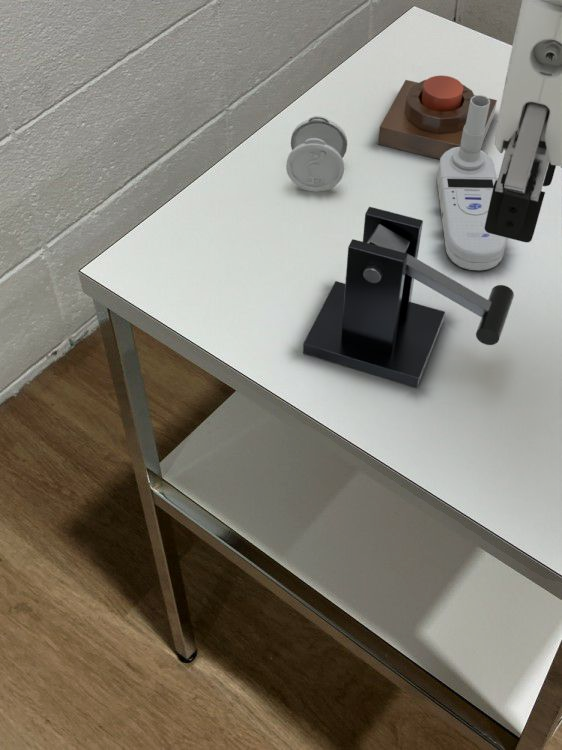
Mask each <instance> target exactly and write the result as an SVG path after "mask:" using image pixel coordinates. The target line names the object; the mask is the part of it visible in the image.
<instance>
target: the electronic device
mask: <svg viewBox="0 0 562 750" xmlns="http://www.w3.org/2000/svg"><path fill="white" fill-rule="evenodd" d="M475 95H476V96H473V97H472V98H471V100H470V105H469V110H468V115H467V120H466V125H465V126H464V128H463V133H462V138H461V145H460V147H455V148H452V149H450V150H448V151H446V152H445V153H444V154H443V155H442V157H441V158H440V159H439V164H438V168H437V169H438V170H437V175H436V181H437V189H438V190H437V191H438V198H439V207H440V213H441V222H442V230H443V235H444V247H445V251H446V254H447V256H448V258H449V259H450V260H451V262H452V263H454V264H455V265H457V266H458V267H460V268H462V269H466V270H469V271H485V270H490V269H492V268H495V267H496V266H498V264H500V262H501V261H502V260H503V257H504V254H505V251H506V246H507V243H508V238H506V237H502V236H498V235H494V234H491V233H488V232H486V231H485V223H486V218H487V214H488V209H489V205H490V200H491V196H492V191H493V187H494V183H495V181H496V180H497V181H498V178H497V173H496V168H495V164H494V161H493V159H492V157H491V156H490V155H489V154H488V153H487V152H485V151H483V150H482V147H483V143H484V141H483V139H484V140H485V138H484V134H485V124H486V119H487V115H488V110H489V105H490V100H489V97H487V96H485V95H482V94H475Z"/></svg>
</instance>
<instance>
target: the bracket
mask: <svg viewBox="0 0 562 750" xmlns="http://www.w3.org/2000/svg"><path fill="white" fill-rule="evenodd" d="M379 224H381V225H382V226H384V227H386V228H387V229H389V230H391V231H393V232H394V233H396V234H398V235H400V236H401V237H403V238H405V239H407V240H408V241H410V243H409V246H408V248H407V250H406V253H407V254H406V253H403V252H399V251H395V250H392V249H388V248H384V247H380V246H377V245H373V244H369V243H367V241H368V240H369V238H370V237H371V235H372V234H373V232H374V231H375V229H376V228H377V226H378V225H379ZM423 224H424V219H423V220H422V219H419V218H416V217H412V216H408V215H404V214H399V213H397V212H396V213H395V212H391V211H389V210H384V209H381V208H377V207H372V206H368V208H367V210H366V212H365V213H364V224H363V234H362V240H357V239H353V238H352V239H351V241H350V243H349V244H348V246H347V257H346V269H345V271H346V272H345V282H341V281H338V280H334V283H333V285H332V286H331V289H330V291H329V293H328V295H327V296H326V299H325V300H324V302H323V305H322V306H321V309H319V310H320V311H319V312H318V314H317V316H316V317H315V320H314V322H313V324H312V326H311V328H310V330H309V331H308V334H307V335H306V337H305V339H304V342H303V343H302V344H303V345H302V353H303V354H304V355H308V356H310V357H315V358H318V359H321V360H325V361H328V362H331V363H335V364H337V365H341V366H344V367H348V368H350V369H353V370H357V371H361V372H363V373H367V374H370V375H374V376H377V377H381V378H384V379H387V380H390V381H394V382H397V383H400V384H404V385H407V386H411V387H414V388H418V386H419V384H420V381H421V379H422V376H423V373H424V371H425V368H426V366H427V363H428V361H429V359H430V356H431V354H432V351H433V348H434V346H435V344H436V341H437V338H438V336H439V333H440V331H441V328H442V327H443V323H444V320H445V314H446V311H445V310H441V309H438V308H433V307H430V306H426V305H422V304H419V303H415V302H413V301H412V297H413V289H414V283H415V279H414V278H412V277H410V276H409V275H407V274H405V271H406V264H407V257H408V254H409V255H411V256H413V257H414V258H416V259H418V257H419V250H420V245H421V244H420V243H421V239H422V238H421V237H422V232H423V231H422V230H423Z"/></svg>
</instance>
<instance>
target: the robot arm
mask: <svg viewBox="0 0 562 750" xmlns="http://www.w3.org/2000/svg"><path fill="white" fill-rule="evenodd" d="M503 85H504V86H503V89H502V96H501V102H500V106H499V113H498V118H497V124H496V130H495V137H494V146H495V148H496V150H497V152H499V154H503V152H504V154H503V158H502V162H501V166H500V170H499V173H498V178H497V180H496V181H495V183H494V187H493V191H492V196H491V200H490V205H489V209H488V214H487V218H486V223H485V231H486V232H488V233H491V234H494V235H498V236H502V237H506V238H507V239H510V240H514V241H518V242H522V243H526V244H527V243H531V242H532V240H533V237H534V234H535V230H536V227H537V223H538V221H539V220H538V219H539V216H540V213H541V209H542V205H543V201H544V198H545V195H546V191H542V190H543V187H549V186H550V185H551V184H552V182H553V178H554V175H555V171H556V168H557V167H560V168H561V169H562V0H521V5H520V9H519V13H518V19H517V23H516V27H515V32H514V37H513V41H512V45H511V52H510V56H509V62H508V66H507V72H506V75H505V81H504V84H503Z"/></svg>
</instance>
